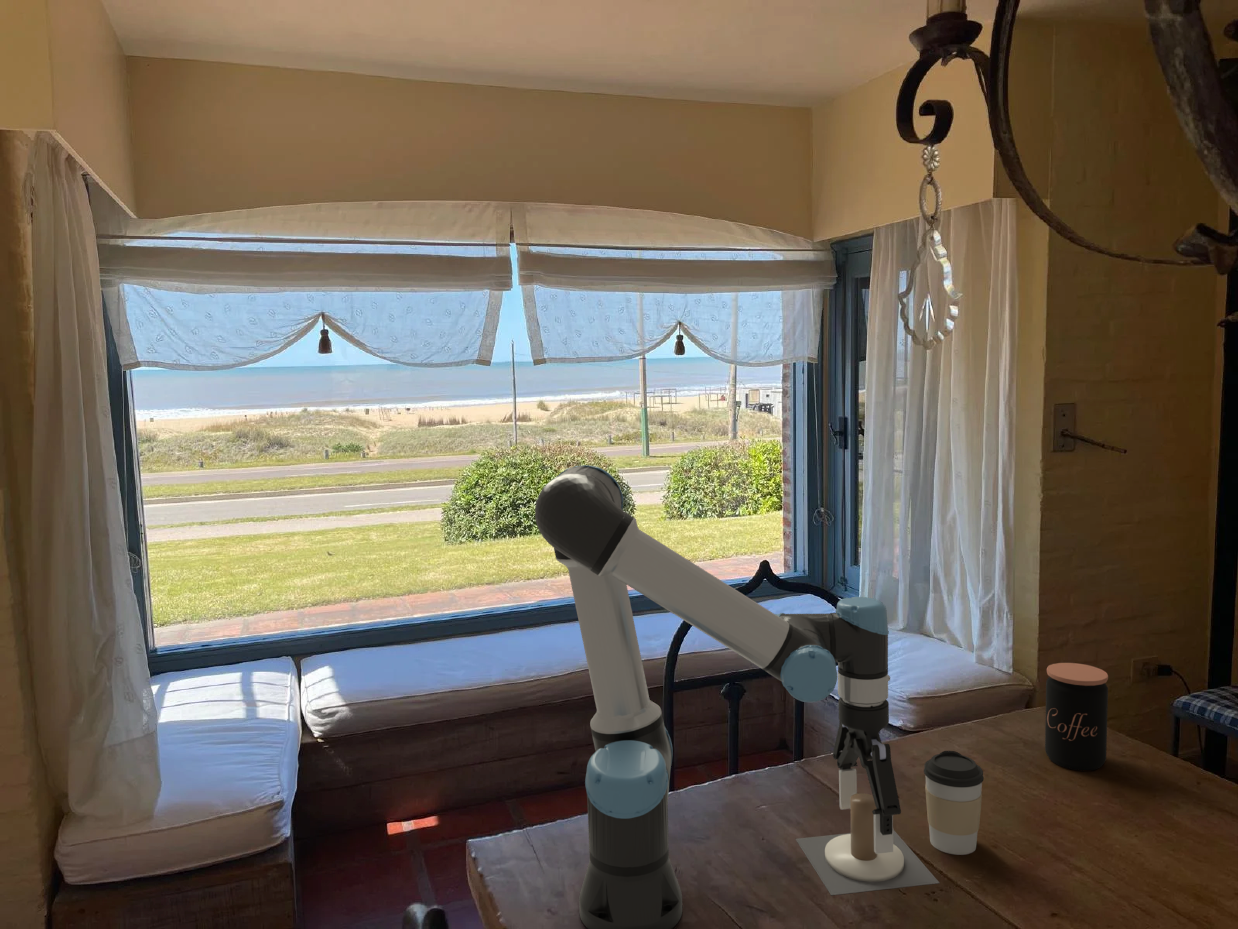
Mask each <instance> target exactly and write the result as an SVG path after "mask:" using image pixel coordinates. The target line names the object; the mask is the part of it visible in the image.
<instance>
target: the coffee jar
mask: <svg viewBox="0 0 1238 929" xmlns="http://www.w3.org/2000/svg"><path fill="white" fill-rule="evenodd" d="M1046 673H1047V676H1048V677H1047V679H1046V682H1045V727H1044V728H1045V730H1044V735H1045V736H1044V737H1045V738H1044V751H1045V753H1046V756H1047V757H1048V758H1049V760H1050V761H1051V762H1052V763H1054V764H1056V765H1057V766H1059V767H1061V768H1065V769H1068V770H1074V771H1080V770H1082V771H1083V770H1092V771H1096V769H1097V770H1098V768H1099V769H1100V767H1101V768H1102V766H1104V764H1105V763H1106V761H1107V746H1108V744H1107V742H1108V741H1107V738H1108V712H1109V711H1108V707H1109V706H1108V705H1109V704H1108V703H1109V702H1108V701H1109V687H1108V685H1107V684H1106V683H1107V682H1108V680H1109V675H1108V672H1106V671H1105V670H1103V669H1101V668H1098V667H1096V666H1093V665H1090V664H1083V663H1075V662H1058V663H1051V664H1049V665H1048V666H1047V668H1046Z"/></svg>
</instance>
